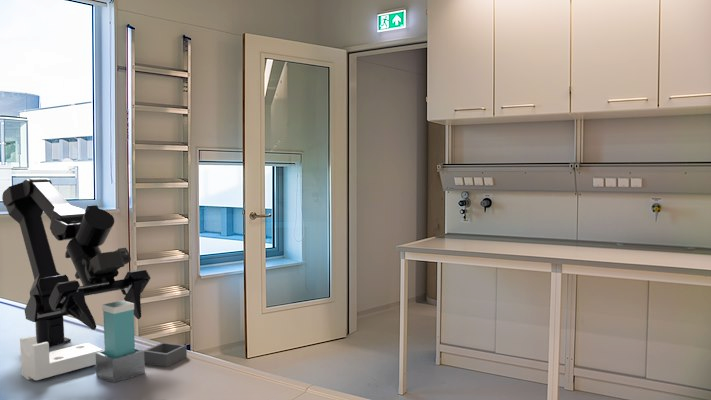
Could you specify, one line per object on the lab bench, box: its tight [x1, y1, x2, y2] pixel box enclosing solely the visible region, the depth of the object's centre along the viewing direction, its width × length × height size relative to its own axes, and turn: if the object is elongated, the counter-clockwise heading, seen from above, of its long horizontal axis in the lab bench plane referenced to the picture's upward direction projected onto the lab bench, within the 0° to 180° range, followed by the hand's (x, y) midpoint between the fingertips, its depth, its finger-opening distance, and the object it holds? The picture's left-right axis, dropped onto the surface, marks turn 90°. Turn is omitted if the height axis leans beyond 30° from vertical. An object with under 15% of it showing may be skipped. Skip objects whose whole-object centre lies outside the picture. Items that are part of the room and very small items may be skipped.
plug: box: [101, 299, 136, 358], centre depth 111 cm, size 4×4×13 cm
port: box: [95, 346, 146, 384], centre depth 111 cm, size 6×6×4 cm
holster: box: [144, 341, 188, 368], centre depth 119 cm, size 6×6×2 cm
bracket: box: [19, 335, 104, 381], centre depth 114 cm, size 13×7×8 cm, turn 139°
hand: (118, 323), depth 111 cm, fingers open, 9 cm apart
